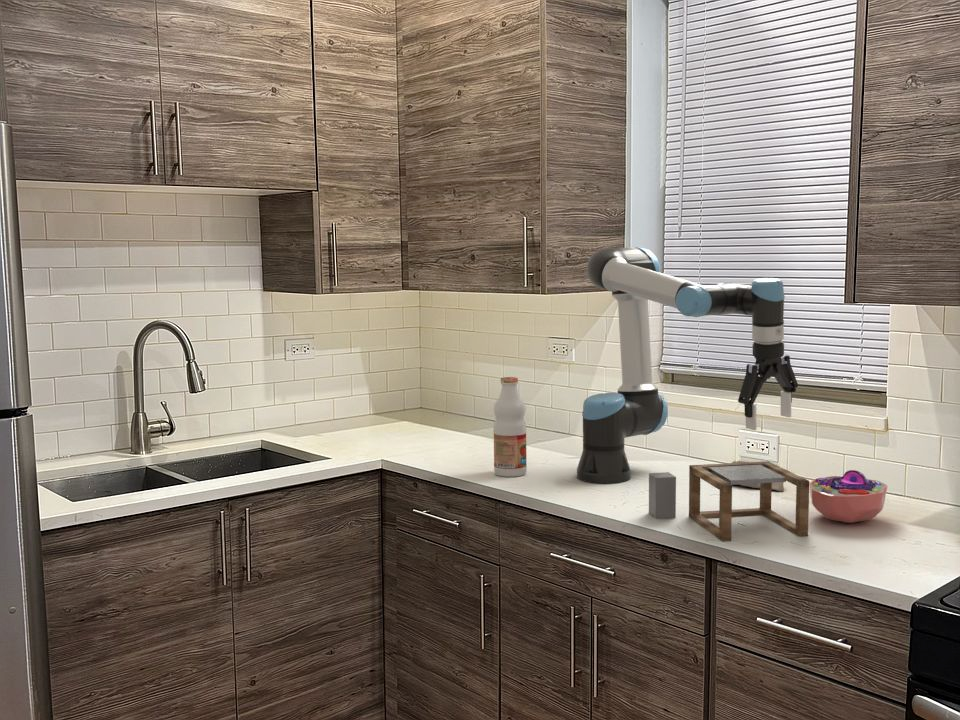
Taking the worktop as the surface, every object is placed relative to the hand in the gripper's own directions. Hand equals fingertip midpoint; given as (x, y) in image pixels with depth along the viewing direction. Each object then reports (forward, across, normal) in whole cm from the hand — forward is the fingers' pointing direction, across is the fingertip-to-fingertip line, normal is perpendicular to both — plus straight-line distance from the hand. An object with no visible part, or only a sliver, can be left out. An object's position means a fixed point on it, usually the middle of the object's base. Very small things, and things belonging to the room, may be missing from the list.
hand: (768, 422), depth 236 cm
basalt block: (+16, -34, +4) cm, 38 cm away
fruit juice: (+20, -38, +61) cm, 75 cm away
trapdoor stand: (+16, -25, -14) cm, 33 cm away
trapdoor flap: (+5, -24, -12) cm, 27 cm away
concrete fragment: (+22, +6, +9) cm, 24 cm away
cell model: (+18, -3, -24) cm, 31 cm away
